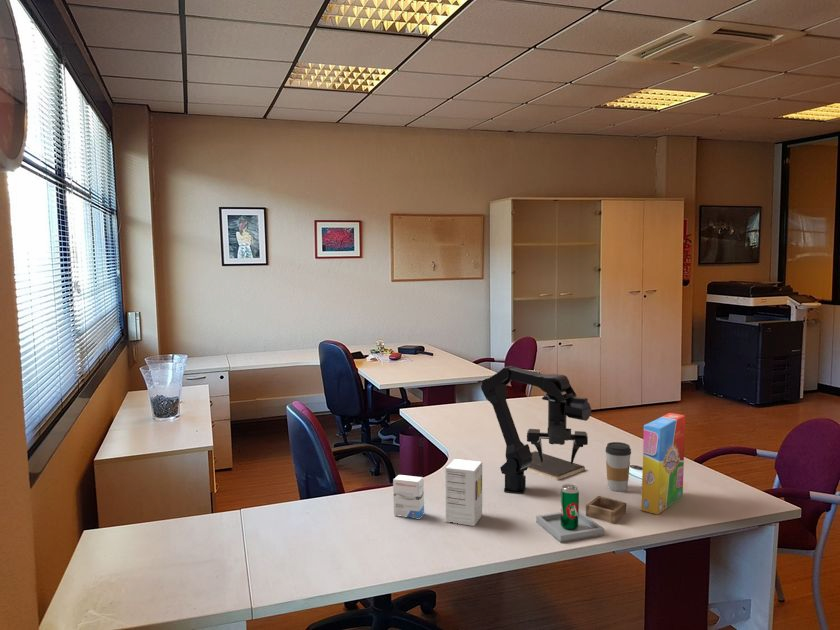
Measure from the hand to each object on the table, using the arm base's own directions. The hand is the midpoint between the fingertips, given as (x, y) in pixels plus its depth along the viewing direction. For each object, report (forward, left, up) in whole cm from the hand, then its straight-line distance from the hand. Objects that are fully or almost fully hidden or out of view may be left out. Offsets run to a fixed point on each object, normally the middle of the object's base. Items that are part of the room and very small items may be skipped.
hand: (556, 462), depth 202 cm
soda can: (+4, -19, -13) cm, 23 cm away
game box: (+33, +6, -13) cm, 36 cm away
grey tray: (+4, -19, -13) cm, 23 cm away
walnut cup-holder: (+15, -7, -13) cm, 21 cm away
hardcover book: (-4, +33, -14) cm, 36 cm away
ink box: (-44, -19, -13) cm, 50 cm away
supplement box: (-27, -18, -13) cm, 35 cm away
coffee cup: (+20, +16, -13) cm, 29 cm away
